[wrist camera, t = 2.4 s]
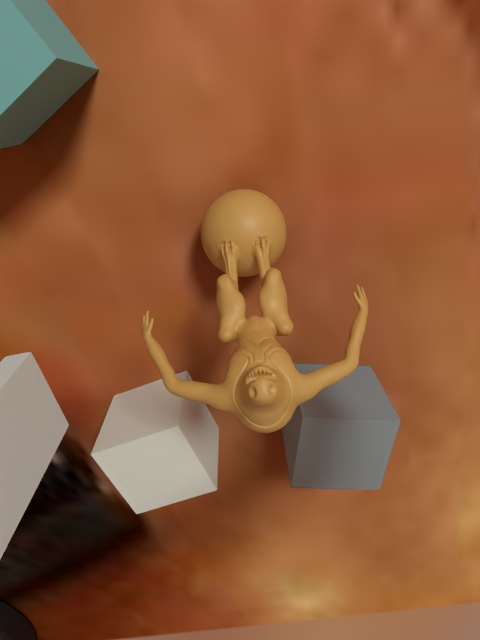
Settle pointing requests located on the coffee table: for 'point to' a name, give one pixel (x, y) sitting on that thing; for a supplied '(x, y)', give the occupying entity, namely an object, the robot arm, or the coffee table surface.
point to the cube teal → (35, 67)
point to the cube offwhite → (158, 446)
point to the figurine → (254, 320)
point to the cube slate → (341, 434)
